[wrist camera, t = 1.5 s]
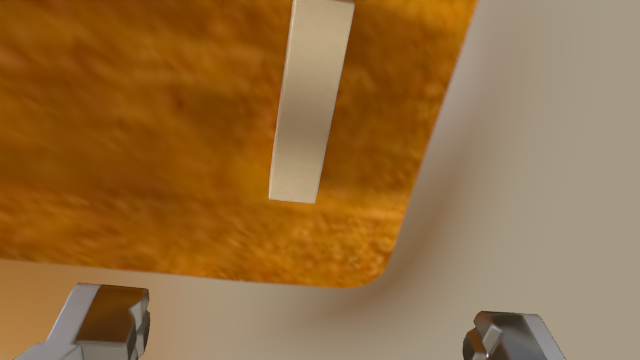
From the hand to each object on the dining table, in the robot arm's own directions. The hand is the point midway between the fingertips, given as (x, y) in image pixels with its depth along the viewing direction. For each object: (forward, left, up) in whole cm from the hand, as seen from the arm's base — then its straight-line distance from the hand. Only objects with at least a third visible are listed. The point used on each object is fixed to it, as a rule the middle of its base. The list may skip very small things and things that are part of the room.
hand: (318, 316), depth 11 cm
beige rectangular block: (0, 0, -14) cm, 14 cm away
